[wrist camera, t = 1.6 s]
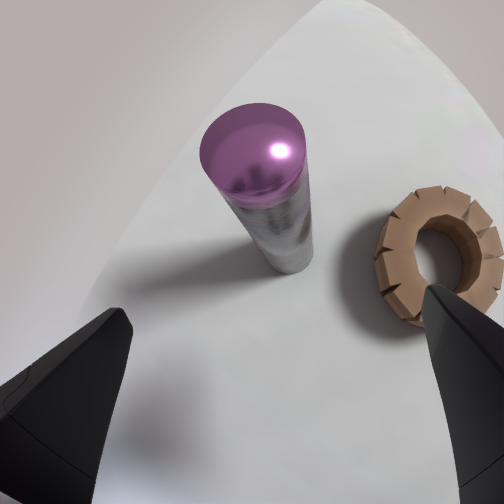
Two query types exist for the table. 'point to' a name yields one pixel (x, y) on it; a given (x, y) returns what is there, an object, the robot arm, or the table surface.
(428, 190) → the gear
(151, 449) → the table surface
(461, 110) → the table surface
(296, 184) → the purple capped tube
